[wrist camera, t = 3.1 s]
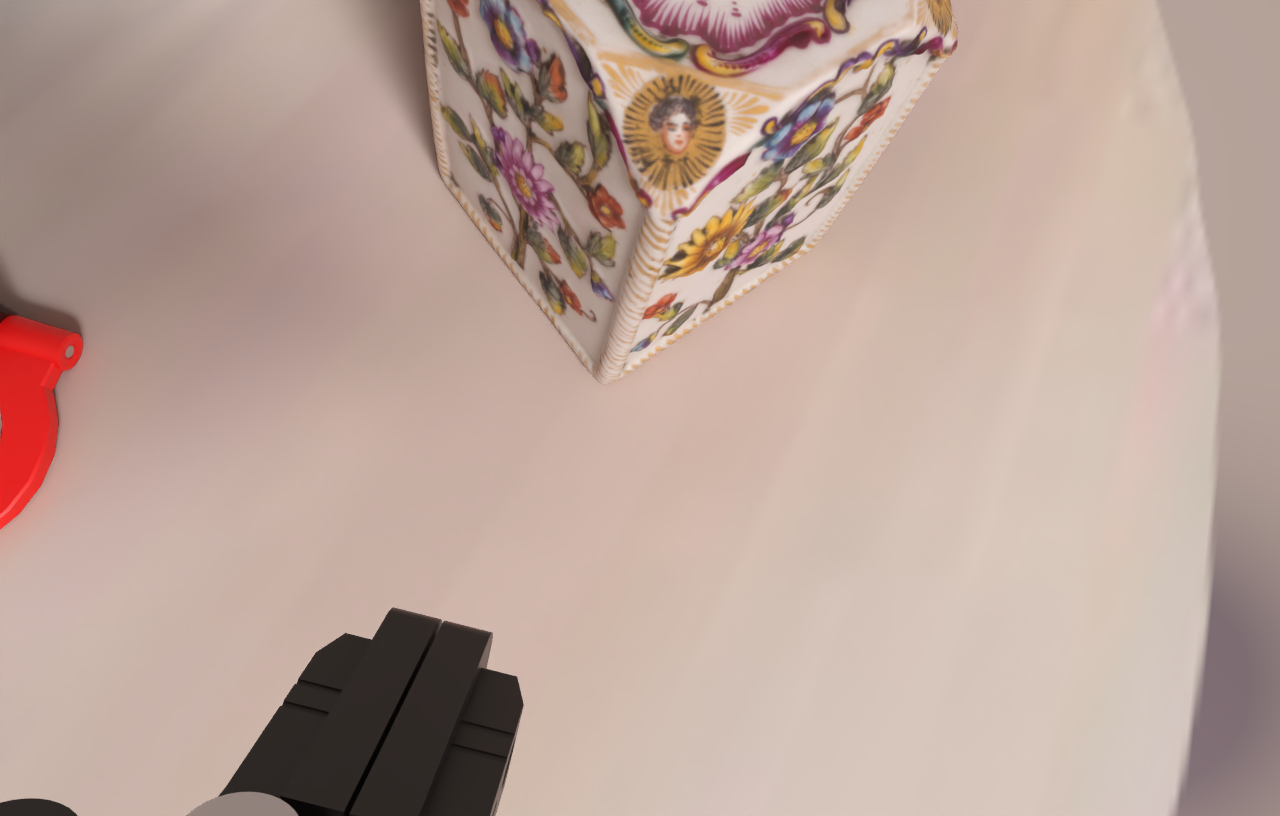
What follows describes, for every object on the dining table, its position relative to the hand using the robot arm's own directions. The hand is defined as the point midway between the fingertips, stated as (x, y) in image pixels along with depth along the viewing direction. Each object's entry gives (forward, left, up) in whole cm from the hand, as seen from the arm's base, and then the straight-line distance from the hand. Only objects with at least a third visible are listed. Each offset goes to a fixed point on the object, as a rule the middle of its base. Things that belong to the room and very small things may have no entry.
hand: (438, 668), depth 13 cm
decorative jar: (-13, +15, -19) cm, 27 cm away
